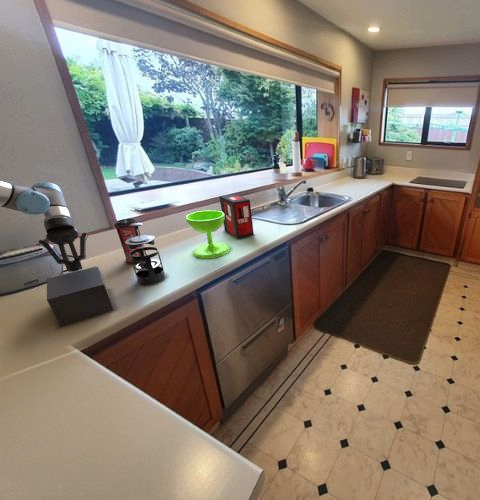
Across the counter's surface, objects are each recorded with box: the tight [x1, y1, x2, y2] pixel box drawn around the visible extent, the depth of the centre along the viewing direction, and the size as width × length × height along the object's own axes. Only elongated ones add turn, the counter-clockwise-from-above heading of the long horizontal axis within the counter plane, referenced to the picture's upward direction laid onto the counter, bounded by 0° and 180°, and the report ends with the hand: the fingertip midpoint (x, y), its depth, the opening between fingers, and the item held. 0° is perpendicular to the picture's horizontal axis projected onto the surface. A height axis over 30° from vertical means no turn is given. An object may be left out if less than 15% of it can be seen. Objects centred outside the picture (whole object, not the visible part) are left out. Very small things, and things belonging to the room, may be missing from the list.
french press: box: [125, 222, 167, 286], centre depth 106 cm, size 12×9×23 cm
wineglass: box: [185, 209, 231, 259], centre depth 131 cm, size 16×16×18 cm
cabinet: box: [46, 266, 115, 327], centre depth 91 cm, size 16×13×10 cm
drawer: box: [51, 265, 97, 277], centre depth 94 cm, size 16×12×8 cm
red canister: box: [114, 218, 148, 264], centre depth 121 cm, size 8×8×18 cm
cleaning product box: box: [218, 193, 255, 240], centre depth 153 cm, size 16×9×20 cm, turn 46°
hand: (78, 278), depth 100 cm, fingers closed
